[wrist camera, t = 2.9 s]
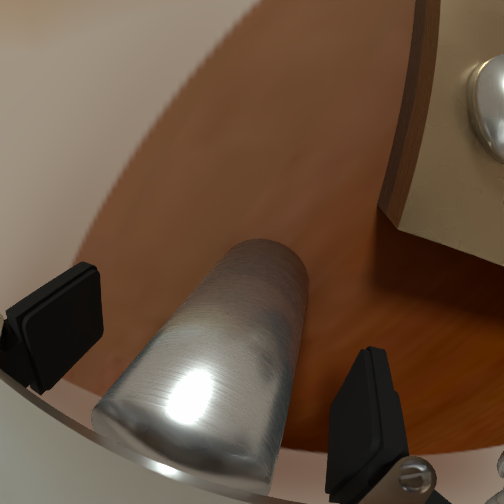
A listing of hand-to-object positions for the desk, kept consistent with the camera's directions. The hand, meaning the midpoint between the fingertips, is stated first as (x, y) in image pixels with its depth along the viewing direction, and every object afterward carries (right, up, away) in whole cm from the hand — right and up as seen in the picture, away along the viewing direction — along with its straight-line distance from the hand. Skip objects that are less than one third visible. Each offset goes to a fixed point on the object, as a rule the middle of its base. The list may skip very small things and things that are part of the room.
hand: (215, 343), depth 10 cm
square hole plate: (+17, +7, -1) cm, 18 cm away
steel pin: (+2, +2, +5) cm, 5 cm away
